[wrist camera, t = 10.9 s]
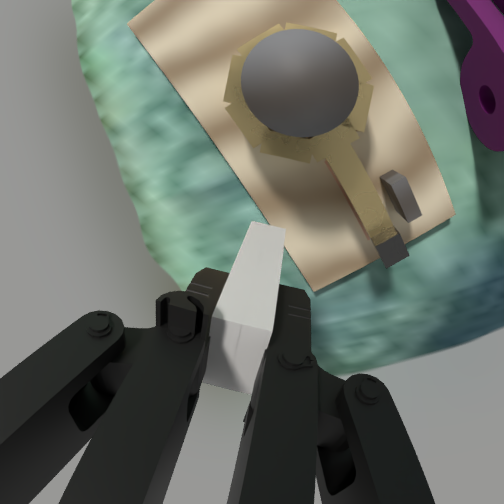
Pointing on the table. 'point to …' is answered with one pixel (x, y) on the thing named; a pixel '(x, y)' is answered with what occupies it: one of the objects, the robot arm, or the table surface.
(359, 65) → the collar
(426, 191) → the base
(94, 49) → the table surface
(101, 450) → the robot arm
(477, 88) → the mounting bracket
